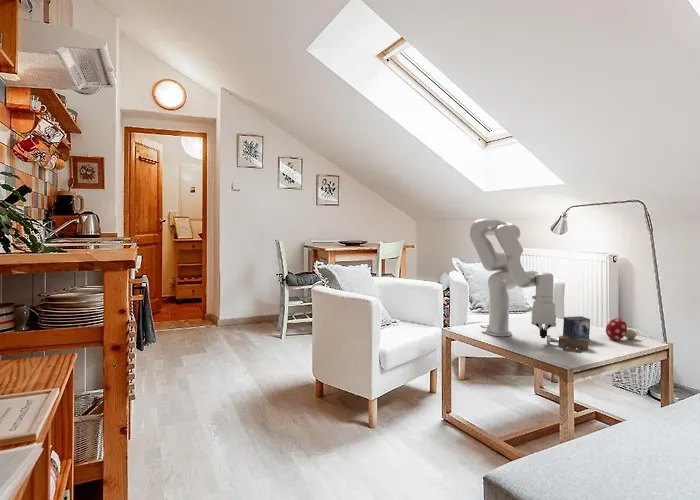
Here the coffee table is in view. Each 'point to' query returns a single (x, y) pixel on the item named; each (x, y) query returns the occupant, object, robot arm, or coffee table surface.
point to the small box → (576, 327)
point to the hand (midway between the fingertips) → (543, 337)
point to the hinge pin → (551, 339)
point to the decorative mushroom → (618, 330)
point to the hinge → (573, 343)
